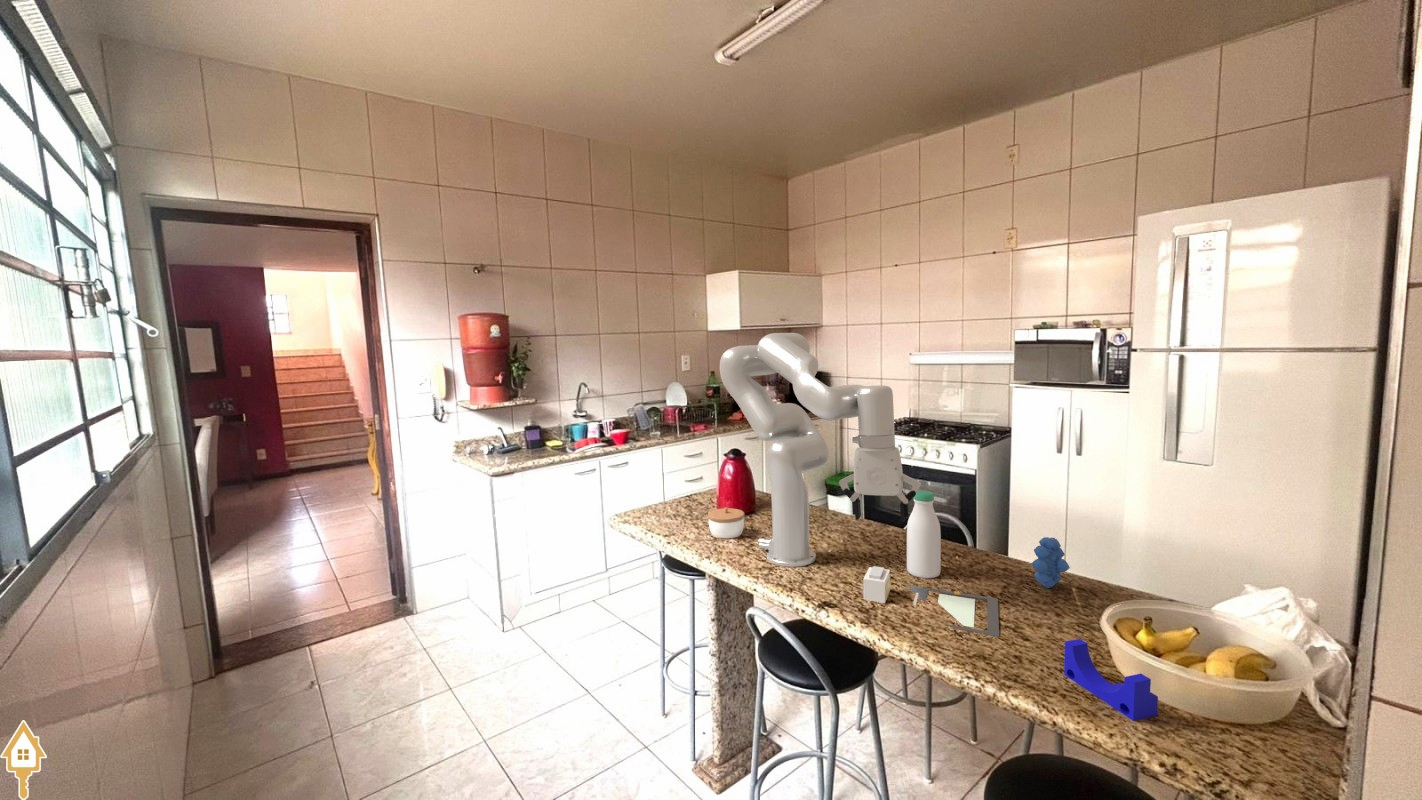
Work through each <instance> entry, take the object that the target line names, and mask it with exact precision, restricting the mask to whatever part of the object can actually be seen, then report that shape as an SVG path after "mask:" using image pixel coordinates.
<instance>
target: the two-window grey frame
mask: <svg viewBox="0 0 1422 800" xmlns="http://www.w3.org/2000/svg"><path fill="white" fill-rule="evenodd" d="M906 586H907V588H909V589H910V590H911V591H912V592H913V593H914V594H915V596H914V599H913V602H912V604H913V605H914V606H915V607H916V606H917V603H918V598H919V599H920V600H922V601H923V603H926V602H927V601H926V600H927V597H928V593H929V592H933V593H934V592H935V593H939V594H944V595H951V596H957V597H964V598H970V599H975V600H977V599H978V600H981V601H982V600H984V601H987V611H986V612H987V616H986V617H987V619H986V620H987V622H986V623H987V625H986V626H987V627H986V628H987V630H981V629H977V628H976V629H975V628H972V627H966V626H965V627H964V626H958V625H955V624H954V625H952V624H948V626H949V627H950V628H953V629H956V630H957V629H958V630H963V631H967V632H972V633H977V634H983V635H986V636H992V637H996V638H1000V623H999V622H1000V621H999V599H998V598H996V597H990V596H983V595H976V594H971V593H970V594H969V593H963V592H961V591H957V590H956V591H948V590H943V589H938V588H937V589H936V588H930V587H929V588H928V587H924V586H923V587H922V586H916V585H915V586H914V585H910V584H906Z"/></svg>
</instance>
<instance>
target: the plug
mask: <svg viewBox="0 0 1422 800" xmlns="http://www.w3.org/2000/svg"><path fill="white" fill-rule="evenodd" d="M890 573H891V570H890V569H886V568H885V567H883V566H882V567H881V566H874V565H873V566H870V567H868V568H867V570H866V573H865V575H864V577H863V579H862V581H863V586H862V588H863V600H865V601H871V602H876V603H880V604H885V603H886V601H887V599H888V597H889V594H890V591H891V574H890Z"/></svg>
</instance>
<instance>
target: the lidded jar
mask: <svg viewBox="0 0 1422 800" xmlns="http://www.w3.org/2000/svg"><path fill="white" fill-rule="evenodd" d="M707 519H708V526H709V531H710V533H711V535H712V536H714V537H716V538H719V539H734V538H738V537H740V536H741V535H742V533H743V531H744V527H745V512H744V511H743V510H741V509H738V508H729V507H723V508H717V509H714V510H713V509H712V510H711V511H709V512H708V514H707Z"/></svg>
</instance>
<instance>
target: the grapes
mask: <svg viewBox="0 0 1422 800" xmlns="http://www.w3.org/2000/svg"><path fill="white" fill-rule="evenodd" d="M1038 543H1039V545H1037V546H1036V547H1035V548H1034V549H1033V552H1034V554H1035V556H1036V557H1037V558H1036V559H1034V560H1033V561H1032V562H1031V564H1032V567H1033V569H1034V570H1035V571H1036V572H1035V573H1034V574H1033V575H1034V577H1035V580H1036V581H1037V582H1038V583H1040V584H1041V585H1042V586H1043V587H1045V588H1046V589H1051V588H1052V587H1054V586H1055V585H1056V584H1057V583H1059V582H1060V581H1061V580H1062V577H1061V575H1060V573H1066V572H1068V570H1069V569H1071V567H1070V565H1069V563H1068V562H1067V561H1066V560H1065V559H1063V557H1065V553H1064V550H1063V549H1062V546H1061V544H1060V542H1059V540H1058V538H1055V537H1048V536H1043V538H1041V539H1040V540H1039V541H1038Z"/></svg>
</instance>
